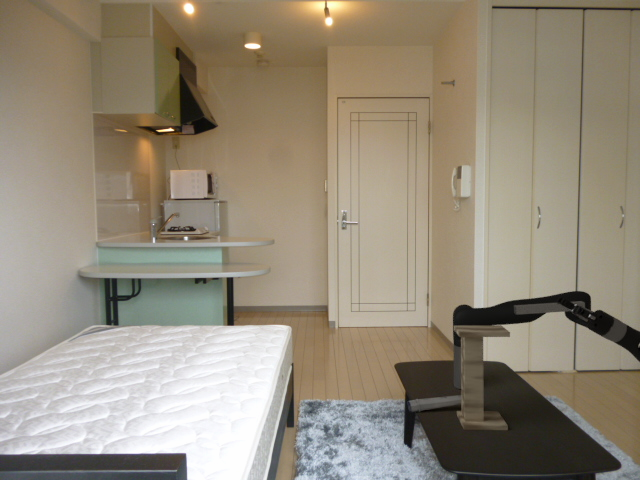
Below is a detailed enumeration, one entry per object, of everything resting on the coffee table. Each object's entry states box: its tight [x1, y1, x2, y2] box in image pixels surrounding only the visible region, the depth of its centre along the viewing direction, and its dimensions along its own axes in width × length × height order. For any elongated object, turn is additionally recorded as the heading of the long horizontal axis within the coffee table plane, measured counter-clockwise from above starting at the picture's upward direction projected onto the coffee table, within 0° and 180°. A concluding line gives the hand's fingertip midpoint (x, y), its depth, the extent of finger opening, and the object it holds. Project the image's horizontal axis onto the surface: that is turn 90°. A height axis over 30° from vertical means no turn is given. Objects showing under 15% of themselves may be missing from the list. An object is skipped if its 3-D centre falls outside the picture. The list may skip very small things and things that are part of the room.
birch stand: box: [454, 325, 511, 431], centre depth 167 cm, size 12×16×32 cm
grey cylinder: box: [407, 394, 461, 413], centre depth 179 cm, size 5×7×25 cm
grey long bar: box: [514, 301, 585, 315], centre depth 166 cm, size 3×22×3 cm, turn 85°
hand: (560, 300), depth 166 cm, fingers closed on grey long bar, 2 cm apart
